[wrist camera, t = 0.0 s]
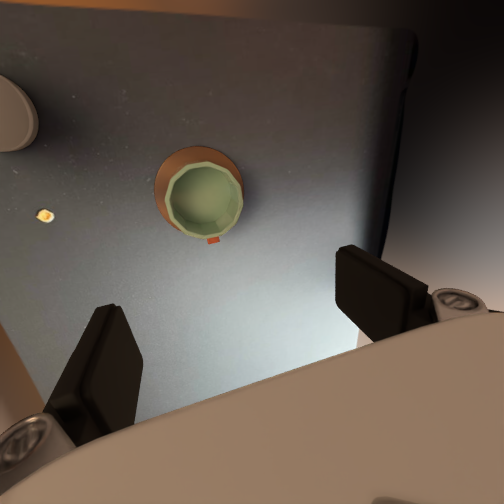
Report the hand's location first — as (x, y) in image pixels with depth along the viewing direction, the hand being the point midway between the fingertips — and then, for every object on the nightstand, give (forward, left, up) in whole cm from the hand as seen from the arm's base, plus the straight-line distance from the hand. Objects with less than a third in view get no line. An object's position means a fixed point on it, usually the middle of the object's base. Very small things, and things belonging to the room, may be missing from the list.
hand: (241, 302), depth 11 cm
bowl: (-1, 0, -20) cm, 20 cm away
